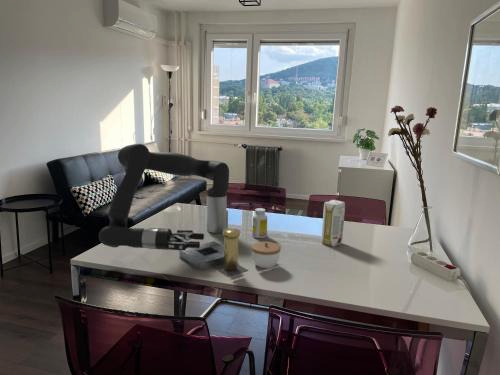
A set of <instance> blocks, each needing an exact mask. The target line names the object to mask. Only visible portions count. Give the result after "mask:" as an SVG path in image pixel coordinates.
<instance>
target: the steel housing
mask: <svg viewBox="0 0 500 375" xmlns="http://www.w3.org/2000/svg"><path fill="white" fill-rule="evenodd" d="M178 251H179V252H178V253H179V255H178V257H179V258H181V259H182V260H183V261H185V262H186V263H188V264H190V266H192V267H194V268H195V269H197V270H198V271H199V272H201V271H205V270H208V269H209V270H210V269H212V268H213V269H214V267H218V266H221V265H224V245H223V244H220V243H218V242H216V241H214V240H213V241H209V242H205V243H204V242H203V243H200V247H199V248H188V249H186V250H184V251H183V250H178Z"/></svg>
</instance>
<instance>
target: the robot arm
mask: <svg viewBox="0 0 500 375" xmlns="http://www.w3.org/2000/svg"><path fill="white" fill-rule="evenodd" d="M117 158H118V159H117V160H118V162H119V163H120V164H121V166H123V167H124V168H126V172H125V175H124V177H123V179H122V180H121V183H119V185H118V188H117V189H116V191H115V193H114V195H113V197H112V198H111V203H110V208H109V210H108V215H107V216H108V219H109V225H107V226H105V227H103V228H101V230H100V231H99V233H98V240H99V242H100V243H101V244H102V245H104V246H106V247H109V248H119V247H120V246H124V247H129V248H130V247H131V248H134V249H135V248H138V249H148V250H165V251H167V250H169V251H170V250H172V251H179V250H183V251H184V250H186V249H188V248H199V247H200V244H201V242H200V241H196V240H204V239H205V234H204V233H202V232H201V233H200V232H194V230H191V229H190V230H186V229H181V230H180V229H178V230H176V233H173V232H172V230H171V229H170V228H158V227H149V228H145V227H143V228H142V227H141V228H140V227H139V228H138V227H137V228H136V227H134V228H133V227H128V218H129V216H130V212H131V207H132V204H133V201H134V198H135V195H136V192H137V188H138V186H139V184H140V182H141V179H142V177H143V175H144V173H145V172H146V171H145V170H148V171H149V170H150V171H153V172H154V171H155V172H159V173H163V174H169V175H174V176H180V177H190V176H196V177H200V178H204V179H207V180H209V181H212V186H211V187H209V188H208V189H207V190H206V231H207V232H209V233H213V234H219V233H220V234H221V233H222V234H223V230H224V229H228V228H229V211H228V210H227V201H228V200H227V197H228V196H227V195H228V194H227V193H228V190H229V182H230V168H229V166H228V164H227V163H226V162H223V161H218V160H207V159H206V160H205V159H197V158H195V157H192V156H190V155H187V154H182V153H179V152H178V153H177V152H163V151H160V152H157V151H156V152H154V151H153V152H152V151H150V150H149V148H148V147H147V146H146V145H145V144H143V143H133V144H128V145H126V146H124V147H122V148H121V149H120V150H119V151H118V154H117ZM192 240H193V241H192Z"/></svg>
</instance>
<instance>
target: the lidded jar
mask: <svg viewBox="0 0 500 375" xmlns="http://www.w3.org/2000/svg"><path fill="white" fill-rule="evenodd" d="M281 249H282V248H281V246H280V245H279V244H278V243H276V242H271V241H258V242H255V243H253V244H252V245H251V257H252V260H253V263H254V264H255V265H256V266H257V267H258V268H261V269H267V270H272V269H274V267H275V266H276V265H277V264H278V262H279V260H280V257H281V256H280V255H281Z"/></svg>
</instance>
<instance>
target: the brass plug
mask: <svg viewBox="0 0 500 375" xmlns="http://www.w3.org/2000/svg"><path fill="white" fill-rule="evenodd" d="M240 233H241V231H240V229H237V228H233V227H232V228H229V227H228V229H224V230H223V232H222V236H223V238H224V241H223V246H224V270H225V271H228V272H234V271H236V270H237V269H238V265H239V263H238V262H239V260H238V259H239V258H238V257H239V237H240V235H241V234H240Z"/></svg>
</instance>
